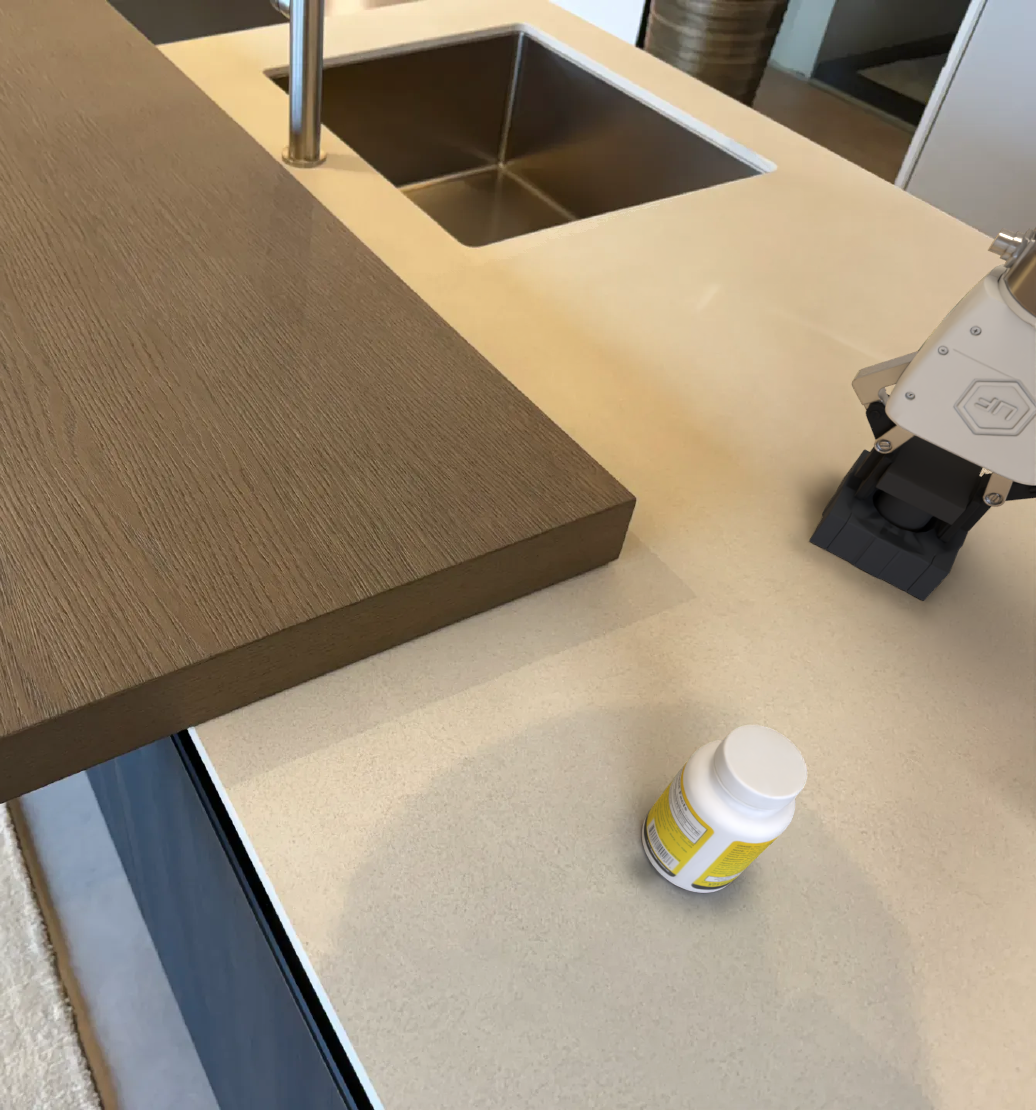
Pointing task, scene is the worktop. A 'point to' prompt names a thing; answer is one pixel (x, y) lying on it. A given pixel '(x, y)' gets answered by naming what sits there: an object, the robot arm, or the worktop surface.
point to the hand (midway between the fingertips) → (906, 505)
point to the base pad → (884, 540)
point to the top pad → (925, 486)
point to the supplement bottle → (724, 808)
